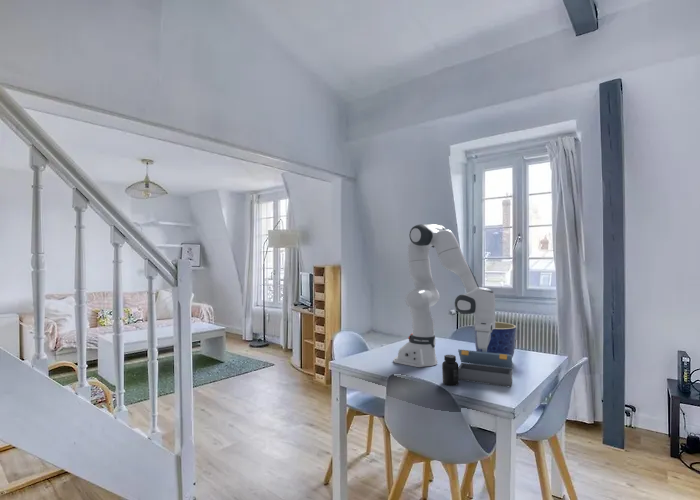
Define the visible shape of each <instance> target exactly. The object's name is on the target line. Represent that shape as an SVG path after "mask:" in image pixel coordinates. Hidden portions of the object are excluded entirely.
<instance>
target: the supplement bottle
mask: <svg viewBox="0 0 700 500" xmlns="http://www.w3.org/2000/svg"><path fill="white" fill-rule="evenodd" d="M443 360H444V361H443V362H442V364H441V367H442V372H441V373H442V376H441V377H442V384H443V385H445V386H449V387H451V386H452V387H455V386H458V385H459V383H460V380H459V372H458V367H459V363H458V362H457V361H456V360H457V358H456V355H455V354H445V355H444V359H443Z"/></svg>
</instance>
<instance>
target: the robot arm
mask: <svg viewBox="0 0 700 500" xmlns="http://www.w3.org/2000/svg"><path fill="white" fill-rule="evenodd" d="M409 240H410V242H409V243H408V247H407V261H408V263H407V264H408V270H409V277H410V279H411V280H412V282H413V284H414V287H415V288H413V289H411V290H410V291H408V292H407V294H406V295H405V303H406V305H407V307H409V308H408V309H409V311H410V315H411V321H412V325H411V326H412V332H411V334H409V336H408V342H406V343H405V344H404V345H403V346H401V347H400V348H399V350H398V353H397V356H395V357H394V358H393V363H395V364H399V365H405V366H409V367H410V366H411V367H415V368H423V367H432V366H435V365H438V360H437V359H438V358H437V355H436V336H435V320H434V318H433V316H432V313H431V307H434V306H435V305H436V304H437V303H438V302H439V300H440V298H441V297H440V296H441V295H440V293H439V291H438V289H437V287H436V284H435V281H434V278H433V275H432V270H431V269H432V268H431V267H432V266H431V261H430V260H431V259H430V248H435V250H436V253H437V257H438V259H439V263H440V264H441V265H442V267H443V268H444V269H445V270H447V271H449V272H452V273H454V274H455V275H456V276H458V277H459V278H460V281H461V282H462V284H463V287H464V289H465V292H466V293H462V294H459V295H457V296H456V297H455V300H454V307H455V310H456V311H457V312H458V313H459V314H461V315H473V316H474V323H475V330H476V331H477V344H478V348H479V349H482V352H487V347H488V345H489V342H490V340H491V332H492V330H493V329H495V322H496V314H495V312H496V295H495V292H494V290H492V289H491V288H488V287H482V286H481V287H480V286H479V284H478V281H477V280H476V277H475V276H474V273H473V272H472V269H471V267H470V265H469V264H468V262H467V260H466V259H465V256H464V254H463V252H462V249H461V247H460V244H459V242H458V240H457V238H456V236H455V234H454V232H453V231H451V230H450V229H446V227H445V226H443V225H442V224H434V223H426V224H415V225H414V226H412V228H411V229H410V230H409Z"/></svg>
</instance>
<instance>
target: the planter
mask: <svg viewBox="0 0 700 500" xmlns="http://www.w3.org/2000/svg"><path fill="white" fill-rule="evenodd" d="M473 323H474V324H473V329H474V331H473V332H474V344H475V351H479V352H482V349H479V348H478V344H477V331H476V330H475V322H473ZM516 331H517V325H516V324H513V323H509V322H503V321H502V322H501V321H495V329H493V330H492V332H491V340H490V342H489V345H488V347H487V352H489V353H499V354H509V355H512V358H513V357H514V355H515V348H516V334H517V332H516Z"/></svg>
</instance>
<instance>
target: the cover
mask: <svg viewBox="0 0 700 500" xmlns="http://www.w3.org/2000/svg"><path fill="white" fill-rule="evenodd" d="M457 352H458V355H459V360H460V362H461V363H468V364H476V365H485V366H493V367H502V368H510V369H513V368H514V367H513V366H514V365H513V357H512V355H509V354H499V353H489V352H479V351H476V350H469V349H468V350H467V349H458V351H457Z"/></svg>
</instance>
